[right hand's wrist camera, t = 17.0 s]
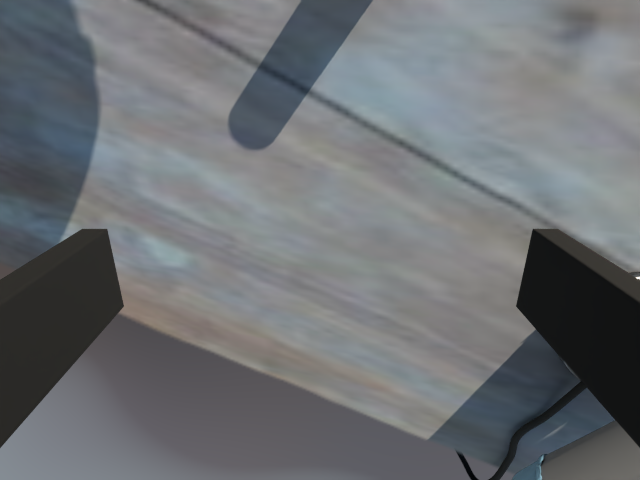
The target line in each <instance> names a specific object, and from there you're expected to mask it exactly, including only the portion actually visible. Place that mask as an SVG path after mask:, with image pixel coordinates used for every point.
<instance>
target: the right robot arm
mask: <svg viewBox="0 0 640 480" xmlns="http://www.w3.org/2000/svg"><path fill="white" fill-rule="evenodd" d="M123 307H124V305H123V300H122V296H121V291H120V286H119V282H118V277H117V272H116V268H115V263H114V259H113V254H112V249H111V245H110V240H109V235H108V231H107V229H82V230H80V231H78V232H77V233H75V234H73V235H72V236H70V237H69V238H67V239H65V240H64V241H62V242H61V243H59V244H57V245H56V246H54V247H53V248H51V249H49V250H48V251H46V252H44V253H43V254H41V255H40V256H38V257H36V258H35V259H33V260H32V261H30V262H28V263H27V264H25V265H23V266H22V267H20V268H19V269H17V270H15V271H14V272H12V273H11V274H9V275H7V276H6V277H4V278H3V279H1V280H0V448H1V446H2V445H3V444H4V443H5V442H6V441H7V440H8V438H9V437H10V436H11V435H12V434H13V433H14V431H15V430H16V429H17V428H18V427H19V426H20V425H21V424H22V422H23V421H24V420H25V419H26V418H27V417H28V415H29V414H30V413H31V412H32V411H33V410H34V409H35V407H36V406H37V405H38V404H39V403H40V402H41V401H42V399H43V398H44V397H45V396H46V395H47V394H48V393H49V391H50V390H51V389H52V388H53V387H54V386H55V384H56V383H57V382H58V381H59V380H60V379H61V378H62V377H63V375H64V374H65V373H66V372H67V371H68V370H69V369H70V367H71V366H72V365H73V364H74V363H75V362H76V360H77V359H78V358H79V357H80V356H81V355H82V354H83V353H84V351H85V350H86V349H87V348H88V347H89V346H90V344H91V343H92V342H93V341H94V340H95V339H96V338H97V336H98V335H99V334H100V333H101V332H102V331H103V330H104V328H105V327H106V326H107V325H108V324H109V323H110V322H111V320H112V319H113V318H114V317H115V316H116V315H117V314H118V312H119V311H120V310H121V309H122V308H123ZM516 307H517V308H518V309H519V310H520V311H521V312H522V314H523V315H524V316H525V317H526V318H527V319H528V320H529V322H530V323H531V324H532V325H533V326H534V327H535V328H536V330H537V331H538V332H539V333H540V334H541V335H542V336H543V338H544V339H545V340H546V341H547V342H548V343H549V344H550V346H551V347H552V348H553V349H554V350H555V351H556V353H557V354H558V355H559V357H560V359H561V361H562V362H563V363H564V365H565V366H566V367H567V368H568V369H569V370H570V372H571V373H572V374H573V375H575V376H576V377H577V378H578V379H579V380H581V382H580V383H579V384H578V385H576V386H575V387H574V388H573V389H572V390H571V391H569V392H568V393H567V394H566V395H565V396H564V397H562V398H561V399H560V400H559V401H558V402H557V403H555V404H554V405H553V406H552V407H551V408H549V409H548V410H547V411H546V412H544V413H543V414H542V415H540V416H539V417H537V418H535V419H534V420H532V421H530V422H528V423H527V424H525V425H524V426H522V427H521V428H520V429H519V430H518V431H517V432H516V433H515V434H514V436H513V437H512V439H511V442H510V447H509V452H508V455H507V457H506V458H505V460H504V461H503V463H502V465H501V466H500V468H499V469H498V471H497V472H496V473H495V475H494V476H493V477H492V478H490V479H489V480H500V478H501V477H502V476H503V474H504V473H505V471H506V470H507V468H508V467H509V465H510V464H511V462H512V461H513V459H514V457H515V453H516V448H517V444H518V442H519V440H520V438H521V437H522V436H523V435H524V434H525V433H527V432H528V431H530V430H531V429H533V428H535V427H536V426H538V425H540V424H542V423H543V422H545V421H546V420H548V419H549V418H550V417H552V416H553V415H554V414H555V413H557V412H558V411H559V410H560V409H562V408H563V407H564V406H565V405H566V404H567V403H569V402H570V401H571V400H572V399H573V398H575V397H576V396H577V395H578V394H579V393H581V392H582V391H583V390H584V389H585V388H588V389H589V390H590V391H591V393H592V394H593V395H594V396H595V397H596V398H597V399H598V401H599V402H600V403H601V404H602V405H603V406H604V408H605V409H606V410H607V411H608V412H609V413H610V414H611V416H612V417H613V418H614V419H615V421H613V422H611V423H609V424H607V425H605V426H603V427H601V428H600V429H598V430H596V431H594V432H592V433H590V434H588V435H586V436H584V437H582V438H580V439H578V440H576V441H574V442H572V443H570V444H568V445H566V446H564V447H562V448H560V449H558V450H556V451H554V452H552V453H550V454H544V455H541V456H540V457H539V459H538V461H536V462H535V463H533V464H531V465H529V466H528V467H526V468H524V469H523V470H521V471H519V472H518V473H517V474H516V475H515V476H514V477H513V479H512V480H640V272H633V273H628V272H626V271H625V270H623V269H621V268H620V267H618V266H617V265H615V264H613V263H612V262H610V261H608V260H607V259H605V258H604V257H602V256H600V255H599V254H597V253H596V252H594V251H592V250H591V249H589V248H587V247H586V246H584V245H583V244H581V243H579V242H578V241H576V240H575V239H573V238H571V237H570V236H568V235H567V234H565V233H563V232H562V231H560V230H558V229H533V231H532V235H531V240H530V245H529V249H528V254H527V259H526V263H525V268H524V272H523V277H522V282H521V286H520V291H519V296H518V300H517V305H516ZM456 453H457V454H458V456H459V458H460V460H461V462H462V464H463V466H464V468H465V470H466V472H467V474H468V476H469V477H470V479H471V480H479V479H477V478H476V476H475V475H474V474H473V472H472V470H471V468H470V466H469V464H468V462H467V460H466V459H465V457H464V455H463V454H462V453H460V452H457V451H456Z"/></svg>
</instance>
